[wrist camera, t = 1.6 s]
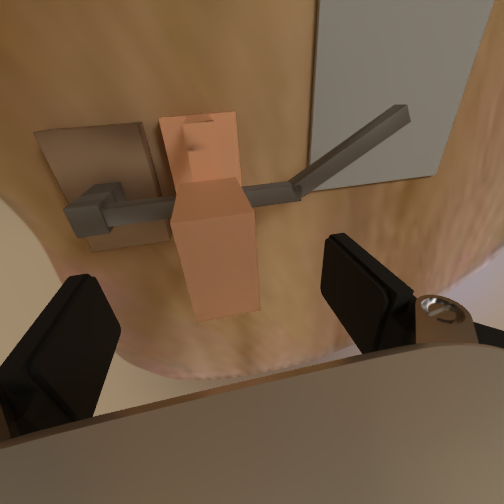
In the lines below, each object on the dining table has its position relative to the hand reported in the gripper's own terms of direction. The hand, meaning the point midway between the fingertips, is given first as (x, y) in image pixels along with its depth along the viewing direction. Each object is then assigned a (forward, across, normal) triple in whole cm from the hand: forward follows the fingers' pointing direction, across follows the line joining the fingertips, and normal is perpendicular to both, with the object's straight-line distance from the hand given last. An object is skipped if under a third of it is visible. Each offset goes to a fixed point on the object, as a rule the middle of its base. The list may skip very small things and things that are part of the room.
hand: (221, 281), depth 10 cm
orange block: (+15, 0, -1) cm, 15 cm away
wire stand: (+15, -1, -1) cm, 15 cm away
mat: (+15, -18, -7) cm, 24 cm away
